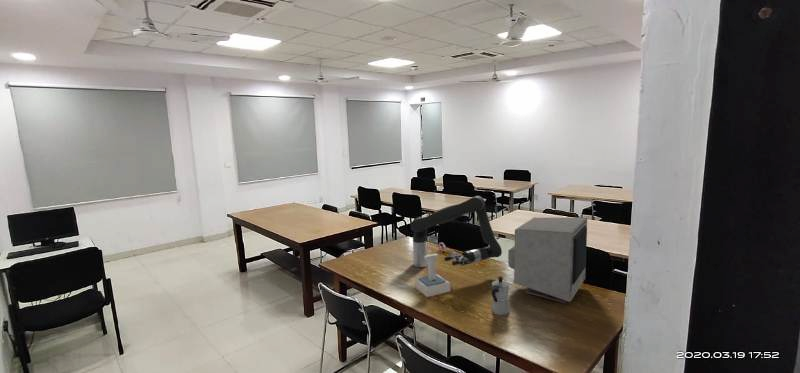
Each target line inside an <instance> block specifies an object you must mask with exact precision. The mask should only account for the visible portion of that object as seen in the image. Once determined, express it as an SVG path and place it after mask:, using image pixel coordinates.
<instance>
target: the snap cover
mask: <svg viewBox="0 0 800 373" xmlns="http://www.w3.org/2000/svg"><path fill="white" fill-rule="evenodd" d="M424 259H425V260H427V271H428V272H427V273H428V275H427V276H421V277H418V278H419V281H421V282H422V283H423V284H425V285H426V286H427V287H429V286H433V285H438V284H442V283H445V280H446V279H445V280H443V279H444V278H443V277H442V278H443V279H442V278H440V277H441V276H440V275H439V276H440V277H439V276H437V275H438V274H437V275H436V259H439V253H433V254H427V255H426V256H424Z"/></svg>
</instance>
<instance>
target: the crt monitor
mask: <svg viewBox="0 0 800 373" xmlns="http://www.w3.org/2000/svg"><path fill="white" fill-rule="evenodd" d="M587 237H588V217H532V218H531V219H529V220H527V221H526V222H525V223H523V224H522V225H520V226H518V227H517V228H515V229H514V246H512V247H511V248H509V249H508V253H507V255H508V256H507V258H508V259H507V262H508V266H509V268H510V269H513V284H516V285H519V286H522V287H525V288H527V289H526V290H525V291H524V293H525V294H528V295H534V296H538V297H540V298H544V299H548V300H551V301H555V302H560V303H564V304H565V303H566V302H568V303H569V302H572V300H573V299H574V297H575V295H576V294H577V292H578V290H579V289H580V287H581V286H582V285H583V283H584V281H585V280H586V267H587V266H586V265H587V241H588V240H587V239H588V238H587Z"/></svg>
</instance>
